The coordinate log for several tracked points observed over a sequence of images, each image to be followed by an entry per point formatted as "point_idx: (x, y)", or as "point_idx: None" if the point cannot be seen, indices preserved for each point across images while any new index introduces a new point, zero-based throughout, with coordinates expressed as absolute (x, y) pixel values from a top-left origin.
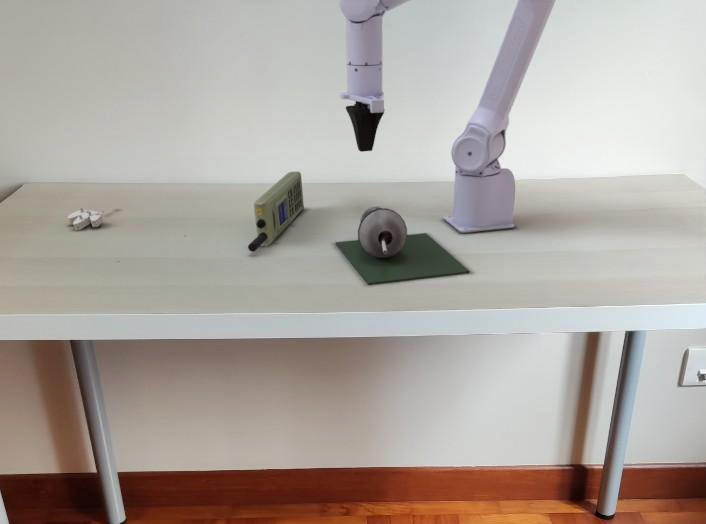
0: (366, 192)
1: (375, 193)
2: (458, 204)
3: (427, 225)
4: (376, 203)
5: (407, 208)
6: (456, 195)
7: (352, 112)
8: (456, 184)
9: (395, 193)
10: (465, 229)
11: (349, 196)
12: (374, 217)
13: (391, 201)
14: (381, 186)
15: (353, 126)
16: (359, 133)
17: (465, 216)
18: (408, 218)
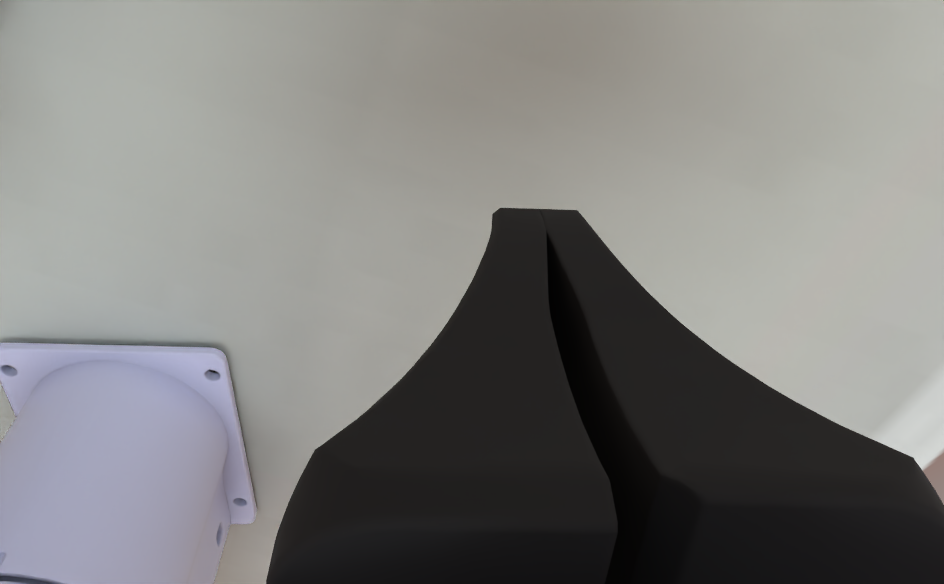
0: (883, 172)
1: (829, 211)
2: (37, 435)
3: (152, 258)
4: (636, 153)
5: (471, 267)
6: (40, 466)
7: (352, 472)
8: (21, 514)
9: (762, 300)
10: (19, 368)
11: (874, 47)
12: None
13: (632, 238)
14: (933, 281)
15: (667, 335)
16: (454, 314)
17: (21, 413)
18: (293, 216)
